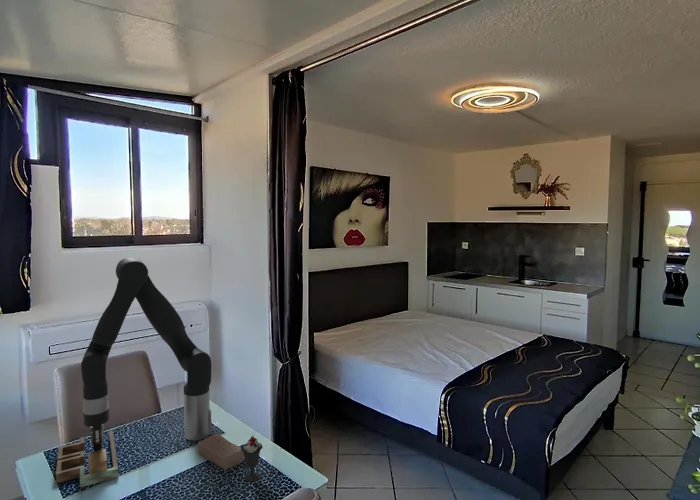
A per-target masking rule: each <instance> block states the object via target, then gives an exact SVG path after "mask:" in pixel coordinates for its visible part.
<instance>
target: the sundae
mask: <svg viewBox="0 0 700 500" xmlns="http://www.w3.org/2000/svg"><path fill="white" fill-rule="evenodd" d="M262 449H263V445H262V443H261V442H259V441H258V439H257V438H256V437H254V435H252V436H250V439H248V440H247V443H244V444H242V446H241V451H243V454H244V463H245V465H246V466H247V468H249V472H248V473H246V475H244V480H246V481H245V482H247V481H250V482H249V483H253V481H254V482H256V480H257V481H258V480H259V479H260V478H259V477H261V475H260V474H259V473H258V472H255V467H256V466H257V465H258V464H259V459H260V453H261V450H262ZM254 472H255V473H254Z"/></svg>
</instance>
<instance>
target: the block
mask: <svg viewBox="0 0 700 500" xmlns="http://www.w3.org/2000/svg"><path fill="white" fill-rule="evenodd" d="M87 455H88V457H87V458H88V461H87V462H88V474H91V473H95V472H98V471H102V470H106V469H108V459H107V456H108V455H107V449H106V448H101V450H98V451H94V450H93V451H90V452H88V454H87Z"/></svg>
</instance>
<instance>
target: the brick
mask: <svg viewBox="0 0 700 500" xmlns="http://www.w3.org/2000/svg"><path fill="white" fill-rule="evenodd" d="M241 448H242V446H239V445H237V444H234V443H232V442H231V441H229V440H228V439H226V438H225V437H224V436H223V435H221V434H220V433H215V434H211V435H209V436H207V437H206V438H203V439H202V440H201V441H199V442H198V443H197V451H198V452H197V453H198V454H199V455H200V457H203V458H204V459H206V460H208V461H209V462H211V463H213V464H214V465H216V466H217V467H219V468H222V469H223V470H225V471H226V470H229V469H231V468H232V467H235V466H236V465H239V464H240V462H241V463H243V462H245V457H244V452H243V451H241ZM230 467H231V468H230ZM228 468H229V469H228Z"/></svg>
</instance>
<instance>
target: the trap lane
mask: <svg viewBox="0 0 700 500" xmlns="http://www.w3.org/2000/svg"><path fill="white" fill-rule="evenodd" d="M108 432H109V435H108V436H109V437H108V438H109V439H108V440H109V445H110V446H109V447H110V454H111V455H110V456H111V463H112V464H111V465H112V467H110V468H107V469H106V470H102V471H98V472H95V473H91V474H89V473H87V474H85V463H86V462H85V459H86V458H85V452H86V451H85V450H86V449H85V446H86V445H85V436H81V437H80V438H79V440H80V441H79V442H75V443H71V444H67V445H62V446H59V447H58V450H57V462H56V469H55V482H56V484H59V483H63V482H67V481H71V480H75V479H77V478H79V487H80V488H84V487H87V486H91V485H94V484H98V483H103V482H106V481H109V480H113V479H116V478H119V466H118V459H117V452H116V451H117V450H116V443H115V436H114V430H109V431H108Z"/></svg>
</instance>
